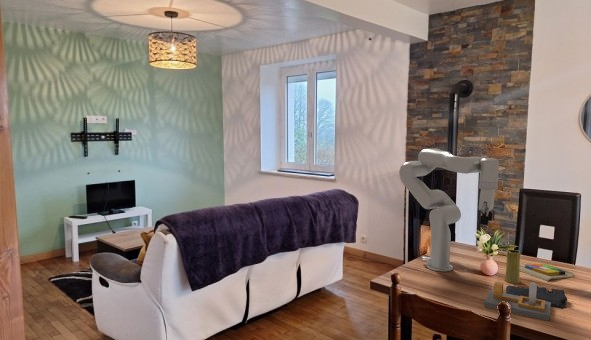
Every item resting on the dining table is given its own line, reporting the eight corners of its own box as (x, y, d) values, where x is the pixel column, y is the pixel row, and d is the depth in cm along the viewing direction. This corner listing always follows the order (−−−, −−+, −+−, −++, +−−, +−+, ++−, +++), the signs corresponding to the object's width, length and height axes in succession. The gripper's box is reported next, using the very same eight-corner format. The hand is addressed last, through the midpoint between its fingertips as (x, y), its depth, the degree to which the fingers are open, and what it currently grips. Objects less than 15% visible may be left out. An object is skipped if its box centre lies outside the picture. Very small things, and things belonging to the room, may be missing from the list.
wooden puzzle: (575, 277, 197) (575, 270, 196) (547, 282, 190) (548, 275, 189) (541, 266, 213) (541, 259, 213) (515, 270, 206) (515, 264, 205)
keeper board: (484, 306, 163) (485, 279, 162) (489, 294, 175) (491, 269, 174) (548, 320, 151) (550, 291, 150) (550, 307, 163) (552, 279, 162)
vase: (521, 284, 187) (523, 253, 186) (506, 283, 188) (508, 252, 187) (517, 279, 193) (518, 249, 191) (503, 278, 194) (504, 248, 193)
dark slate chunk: (504, 288, 183) (505, 278, 183) (562, 296, 174) (563, 285, 174) (506, 301, 170) (506, 290, 169) (569, 311, 160) (570, 299, 160)
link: (492, 300, 164) (492, 286, 163) (495, 293, 171) (496, 279, 171) (543, 311, 154) (544, 296, 153) (545, 303, 161) (546, 288, 161)
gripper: (482, 182, 194) (480, 217, 196) (475, 187, 180) (473, 225, 182) (500, 184, 190) (498, 220, 192) (494, 188, 176) (491, 227, 178)
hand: (486, 222), depth 187 cm, fingers open, 9 cm apart
